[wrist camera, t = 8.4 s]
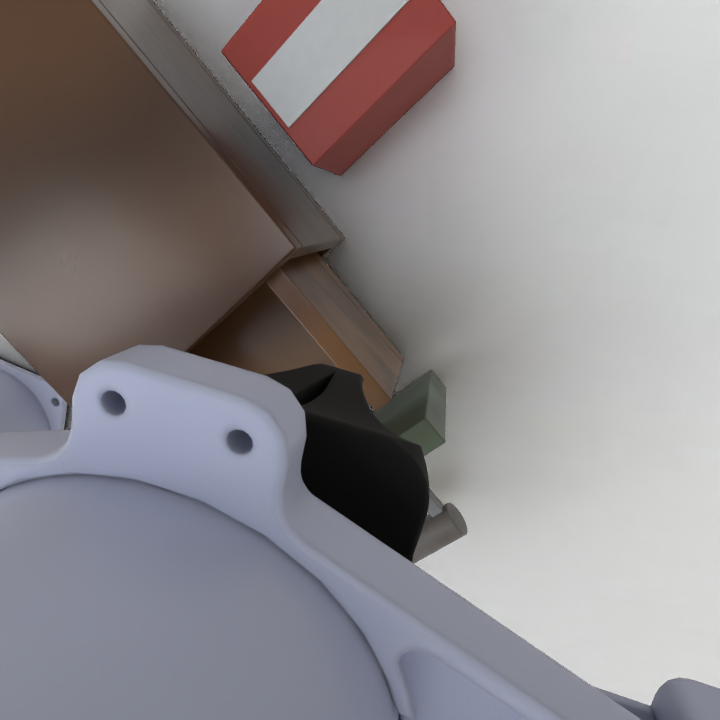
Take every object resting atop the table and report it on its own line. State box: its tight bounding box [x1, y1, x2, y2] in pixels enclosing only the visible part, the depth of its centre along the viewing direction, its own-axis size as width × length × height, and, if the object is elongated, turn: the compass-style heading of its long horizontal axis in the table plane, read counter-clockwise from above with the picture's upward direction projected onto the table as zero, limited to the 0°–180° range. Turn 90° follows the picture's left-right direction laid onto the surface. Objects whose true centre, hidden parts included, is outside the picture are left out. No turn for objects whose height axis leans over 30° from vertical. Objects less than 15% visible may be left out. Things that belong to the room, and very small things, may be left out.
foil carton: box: [222, 0, 456, 176], centre depth 17 cm, size 6×5×5 cm
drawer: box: [189, 252, 467, 564], centre depth 21 cm, size 17×10×6 cm, turn 40°
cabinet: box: [0, 0, 345, 408], centre depth 19 cm, size 13×11×7 cm
